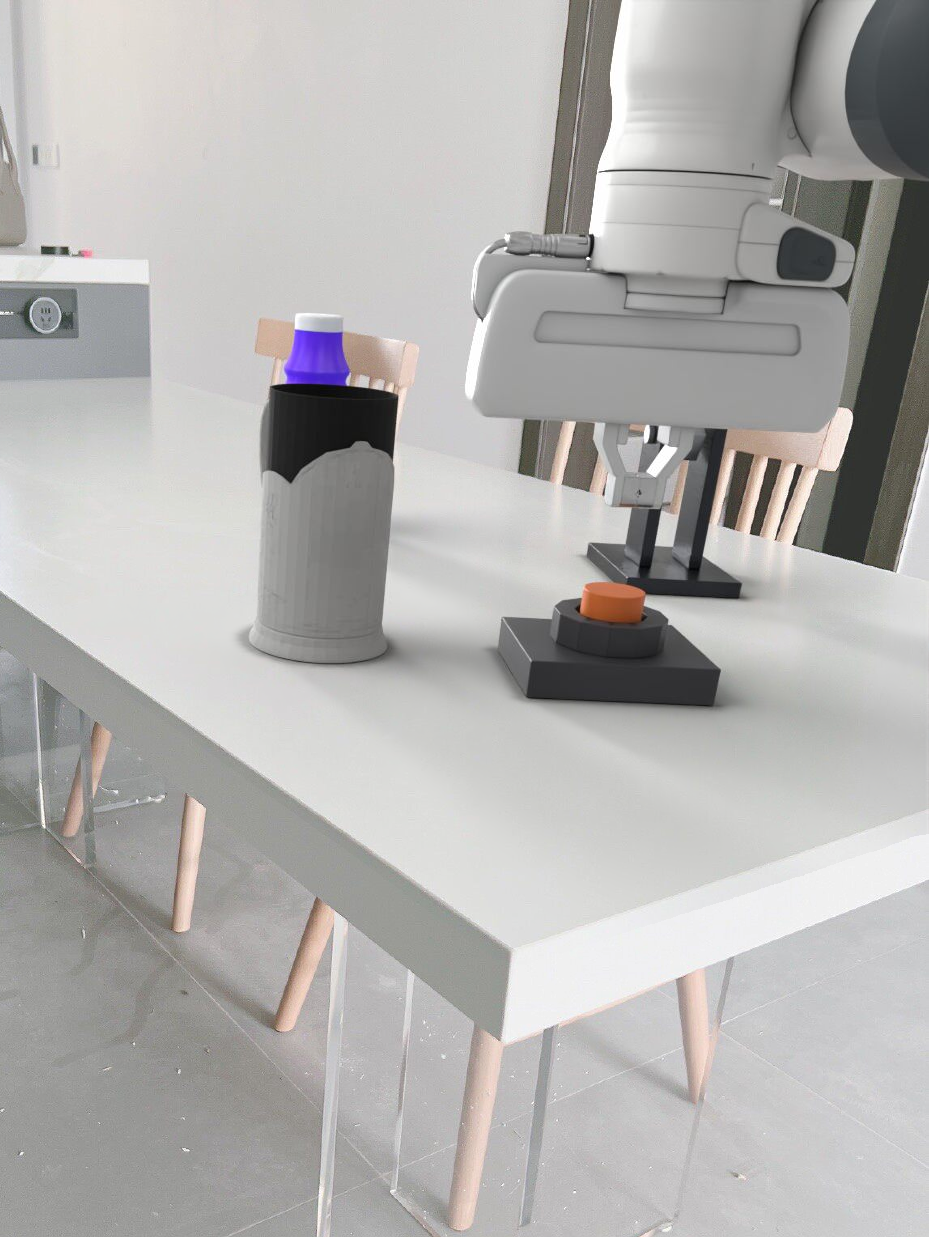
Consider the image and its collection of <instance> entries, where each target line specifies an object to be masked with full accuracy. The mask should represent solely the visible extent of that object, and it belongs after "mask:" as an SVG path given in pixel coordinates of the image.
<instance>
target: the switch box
mask: <svg viewBox="0 0 929 1237" xmlns="http://www.w3.org/2000/svg"><path fill="white" fill-rule="evenodd" d="M581 601H582V597H577V598H569V599H561V600H560V601H559V602H558V603H555V605H554V606H553V610H552V611H553V612H552V616H551V618H539V617H538V618H537V617H519V616H517V617H516V616H515V617H514V616H502V617H501V619H500V628H499V634H498V635H499V636H498V644H497V651H498V653H499V654H500V656H501V658H502V659H503V661H504V663H505V664H506V666H507V668H508V669H509V671H510V673H511V675H512V676H513V677H514V680H515V681H516V683H517V684H518V686H519V688H520V690H521V691H522V692H523V694H524V696H525V698H533V699H554V700H555V699H556V700H560V699H561V700H576V701H577V700H579V701H600V702H601V701H602V702H604V701H605V702H621V703H622V702H623V703H624V702H626V703H643V704H644V703H646V704H667V705H669V704H670V705H671V704H672V705H690V706H691V705H693V706H714V704H715V701H716V696H717V691H718V685H719V681H720V676H721V671H722V670H721V668H720V667H718V666H717V665H716V663H714V662H713V661H712V660H711V659H710V658H709V657H708V656H706V655H705V653H703V652H702V651H701V650H700V649H699V648H698V647H697V646H695V644H694V643H693V642H691V641H690V640H689V639H688V637H687V638H686V636H685V635H683V634H682V633H681V632H680V631H679V630H678V629H677V628H676V627H675V626H673V625H672V624H669V622H670V621H669V618H668V617H666V615H665V614H663V613H662V612H661V611H660V610H657V609H655V608H652V607H648V606H646V605H644V607H643V613H642V618H641V622H634V623H622V622H609V621H604V620H598V619H593V618H589V617H587V616H584V615H581V614H580V607H581Z"/></svg>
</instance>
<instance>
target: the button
mask: <svg viewBox="0 0 929 1237" xmlns="http://www.w3.org/2000/svg"><path fill="white" fill-rule="evenodd" d="M646 595H647V594H646V593H645V592H644V591H643V590H641V589H639V588H636V587H633V586H630V585H625V584H619V583H615V582H609V581H608V582H607V581H595V582H589V583H586V584H585V585H584V586H583V589H582V596H581V598H582V601H581V607H580V614H581V615H584V616H587V617H589V618H593V619H598V620H604V621H609V622H622V623H634V622H641V618H642V613H643V607H644V606H645V602H646V601H645V600H646Z"/></svg>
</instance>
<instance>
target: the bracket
mask: <svg viewBox="0 0 929 1237" xmlns="http://www.w3.org/2000/svg"><path fill="white" fill-rule="evenodd" d="M644 426H645V427H644V432H643V438H642V439H643V440H642V445H641V450H640V456H639V462H638V468H637V472H642V473H647V470H648V469H649V467H650V466H651V464H652V463H653V461H654V460H655V459H656V457H657V456H658V454H659V453H660V451H661V450H662V449H663V447H664V446H665V444H663V443H661V442H659V441H658V440H657V436H658V430H659V426H654V425H644ZM704 430H705V433H706V438H705V440H704V443H703V445H702V448H701V450H700V453H699V455H698V458H697V460H696V461H689V460H688V464H687V470H686V476H685V481H684V485H683V491H682V496H681V502H680V506H679V507H680V508H679V514H678V517H677V518H678V519H677V523H676V529H675V534H674V540H673V545H672V546H664V545H656V543H657V537H658V531H659V526H660V519H661V515H662V514H661V513H662V509H663V504H664V502H663V503H662V506H661V508H660V509H645V508H630V509H631V510H630V516H629V522H628V528H627V533H626V539H625V544H624V543H607V542H591V541H590V542H587V551H586V558H588V559H589V560H590V561H591V562H592V563H593V564H594V565H595V566H597V567H598V568H599V569H600V571H602V572H603V573H604V574H605V575H606V576H607V577H608V578H610V580H611V581H613V583H619V584H625V585H630V586H633V587H636V588H639V589H641V590H643V591H644V592H645V593H646V595H647V594H649V595H667V596H668V595H669V596H685V597H686V596H687V597H689V596H690V597H706V598H707V597H708V598H724V599H725V598H726V599H728V598H729V599H739V598H740V594H741V591H742V590H741V589H742V584H743V582H741V581H740V580H738V579H736V578H735V577H734V576H733V575H730V574H729V573H728V572H727V571H726V570H724V569H722V568H721V567H719V566H718V565H716V564H715V563H713V562H712V561H711V560H709V559H708V558H706V557H705V556H704V552H705V546H706V542H707V537H708V531H709V526H710V520H711V516H712V512H713V507H714V501H715V495H716V491H717V485H718V480H719V475H720V470H721V466H722V465H721V464H722V460H723V455H724V450H725V444H726V441H727V435H728V430H729V429H716V428H704ZM667 480H668V478H667V479H666V482H667ZM665 488H667V484H666V485H665ZM665 492H666V490H665V491H664V494H665ZM664 497H665V496H664ZM664 497H663V499H665V498H664Z"/></svg>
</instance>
